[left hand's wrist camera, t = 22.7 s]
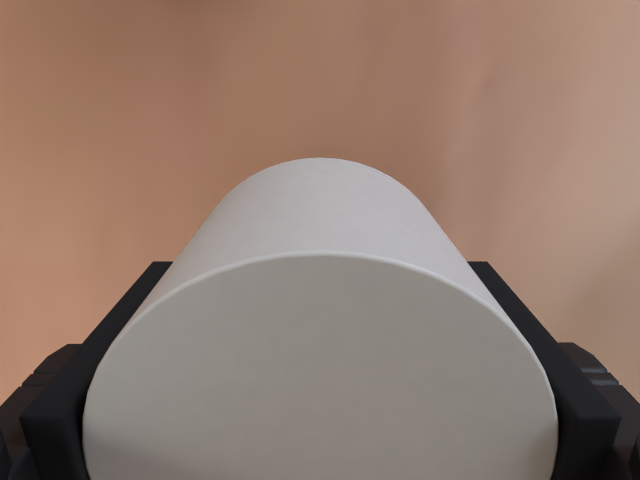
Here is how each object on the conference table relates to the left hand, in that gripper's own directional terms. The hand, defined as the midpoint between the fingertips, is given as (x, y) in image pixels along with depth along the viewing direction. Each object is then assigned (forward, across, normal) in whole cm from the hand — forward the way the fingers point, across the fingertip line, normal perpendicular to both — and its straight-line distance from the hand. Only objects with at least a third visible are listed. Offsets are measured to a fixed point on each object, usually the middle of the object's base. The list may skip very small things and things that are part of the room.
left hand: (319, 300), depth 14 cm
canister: (+1, 0, 0) cm, 1 cm away
